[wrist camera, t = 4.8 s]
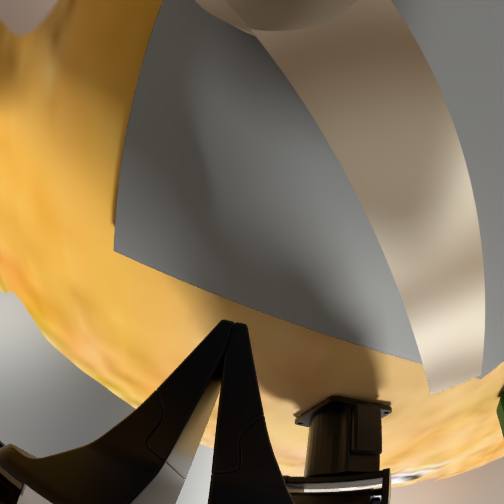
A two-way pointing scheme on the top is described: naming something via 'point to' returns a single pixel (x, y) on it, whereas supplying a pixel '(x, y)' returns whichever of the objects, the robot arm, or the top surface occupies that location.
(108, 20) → the top surface
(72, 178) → the top surface
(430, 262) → the link
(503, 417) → the clamp
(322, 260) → the board
